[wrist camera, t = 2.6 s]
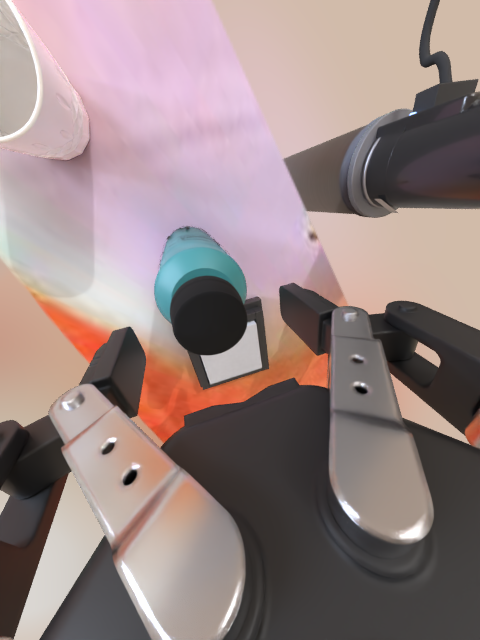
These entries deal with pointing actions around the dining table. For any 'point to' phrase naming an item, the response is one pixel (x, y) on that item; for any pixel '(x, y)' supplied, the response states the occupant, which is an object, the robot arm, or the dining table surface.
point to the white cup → (36, 95)
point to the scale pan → (235, 357)
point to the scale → (256, 314)
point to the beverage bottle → (201, 293)
